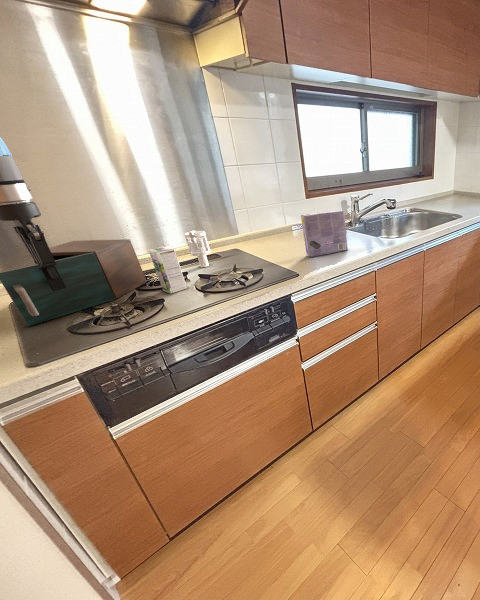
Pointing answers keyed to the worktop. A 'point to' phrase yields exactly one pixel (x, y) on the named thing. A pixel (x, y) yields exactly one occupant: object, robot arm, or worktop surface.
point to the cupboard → (108, 261)
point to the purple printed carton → (324, 233)
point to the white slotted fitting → (198, 246)
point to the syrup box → (168, 269)
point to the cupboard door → (51, 304)
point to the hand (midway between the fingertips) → (59, 288)
